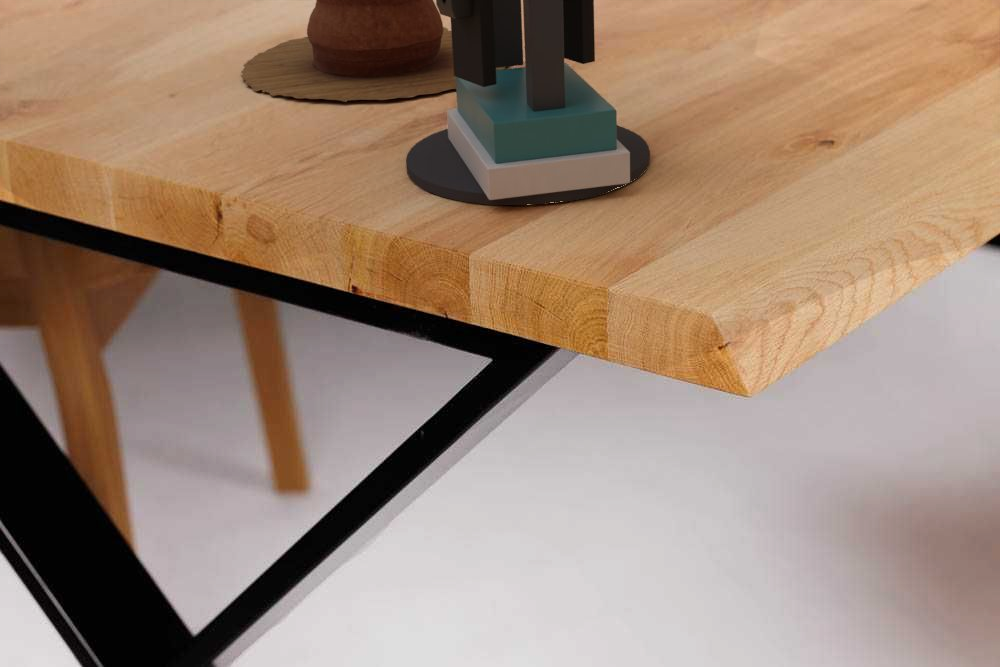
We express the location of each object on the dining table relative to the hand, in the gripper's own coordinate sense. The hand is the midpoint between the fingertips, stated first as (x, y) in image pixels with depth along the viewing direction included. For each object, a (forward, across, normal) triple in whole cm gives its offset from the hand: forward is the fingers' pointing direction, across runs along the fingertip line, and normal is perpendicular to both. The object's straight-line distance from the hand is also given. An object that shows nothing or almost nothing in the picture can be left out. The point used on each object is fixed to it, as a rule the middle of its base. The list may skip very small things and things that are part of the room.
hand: (525, 67), depth 73 cm
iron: (+5, 0, 0) cm, 5 cm away
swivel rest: (+5, 0, 0) cm, 5 cm away
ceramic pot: (+5, -4, -23) cm, 23 cm away
